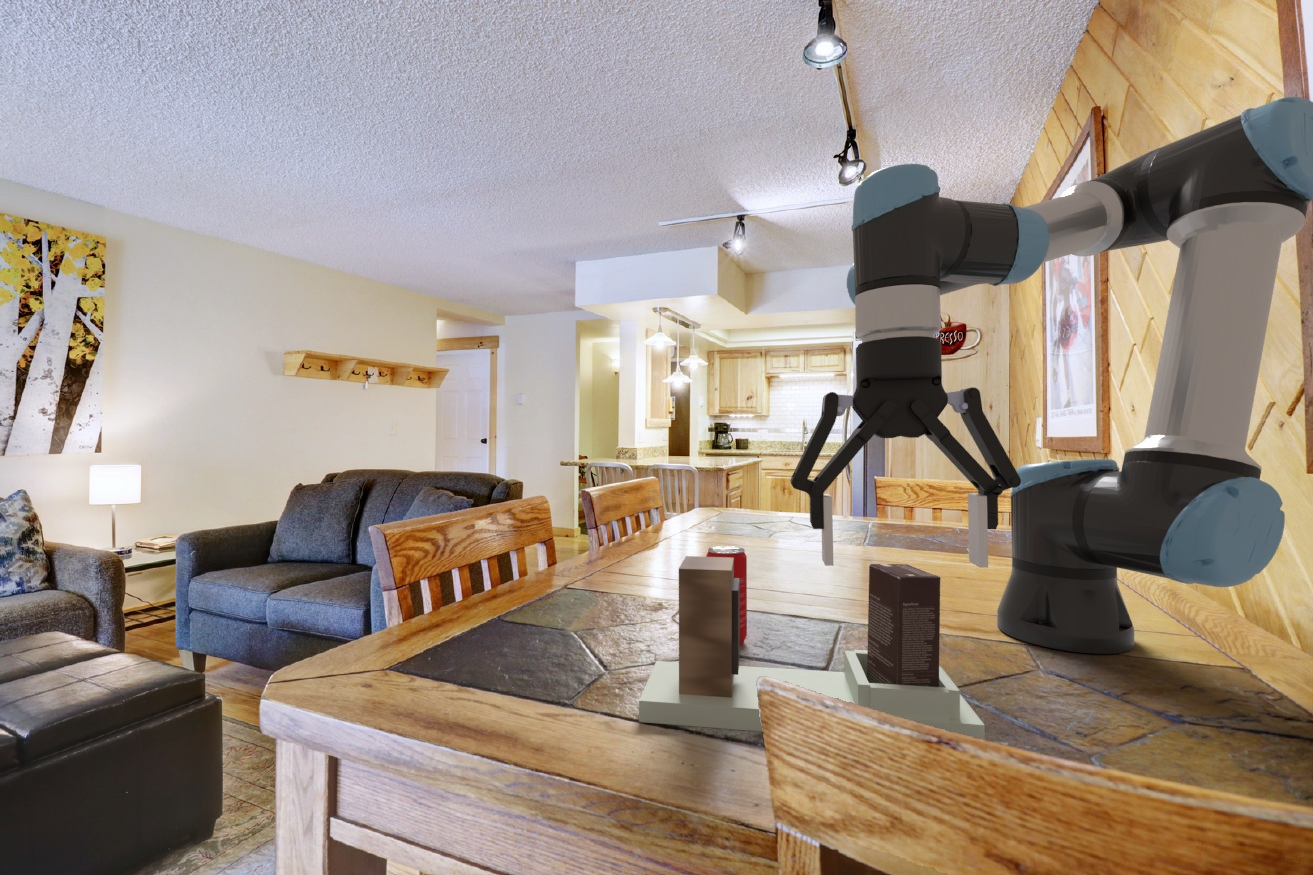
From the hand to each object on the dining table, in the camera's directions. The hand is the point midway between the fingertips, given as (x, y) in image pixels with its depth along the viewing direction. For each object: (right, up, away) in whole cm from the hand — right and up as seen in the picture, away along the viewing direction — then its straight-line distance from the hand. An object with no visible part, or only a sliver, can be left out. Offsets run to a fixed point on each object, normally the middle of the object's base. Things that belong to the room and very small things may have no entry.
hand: (901, 563), depth 58 cm
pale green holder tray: (-9, -15, +1) cm, 17 cm away
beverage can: (-14, -15, +20) cm, 29 cm away
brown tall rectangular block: (-18, -12, +3) cm, 22 cm away
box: (0, -13, 0) cm, 13 cm away
